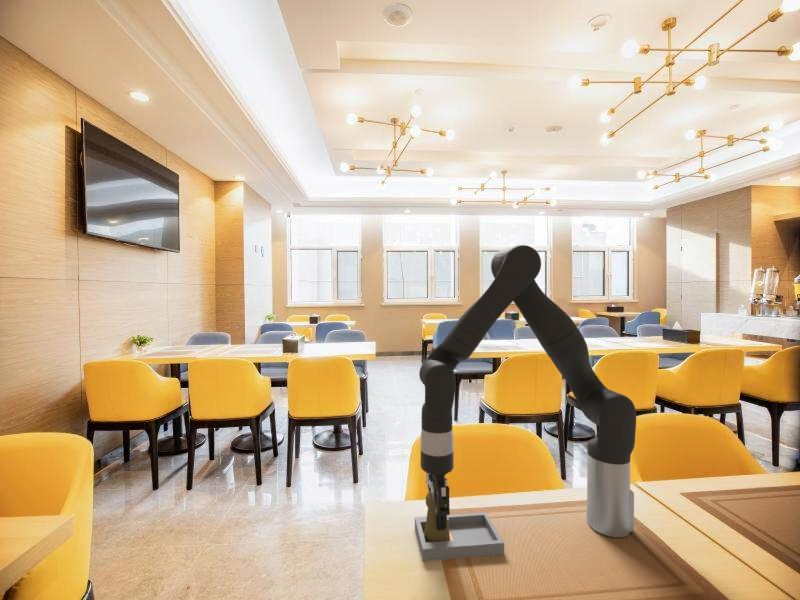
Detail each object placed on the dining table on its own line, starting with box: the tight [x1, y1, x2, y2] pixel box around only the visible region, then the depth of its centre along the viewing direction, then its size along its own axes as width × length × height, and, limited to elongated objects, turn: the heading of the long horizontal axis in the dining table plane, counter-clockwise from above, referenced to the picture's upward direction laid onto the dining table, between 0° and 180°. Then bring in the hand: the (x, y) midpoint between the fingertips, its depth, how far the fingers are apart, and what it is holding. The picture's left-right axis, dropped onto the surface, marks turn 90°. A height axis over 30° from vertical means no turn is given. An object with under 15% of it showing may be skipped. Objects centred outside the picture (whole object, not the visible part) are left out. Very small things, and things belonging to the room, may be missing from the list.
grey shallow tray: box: [414, 511, 505, 562], centre depth 87 cm, size 18×12×3 cm, turn 96°
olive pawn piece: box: [424, 491, 450, 543], centre depth 86 cm, size 6×6×11 cm
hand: (437, 517), depth 87 cm, fingers open, 8 cm apart
